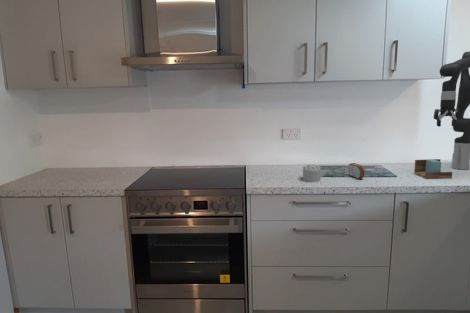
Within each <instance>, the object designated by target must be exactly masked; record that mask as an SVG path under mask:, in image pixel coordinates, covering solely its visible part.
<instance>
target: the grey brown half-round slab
mask: <svg viewBox="0 0 470 313" xmlns="http://www.w3.org/2000/svg"><path fill="white" fill-rule="evenodd" d="M348 174H349V175H350V176H351V177H352V178H355V179H357V180H361V179H364V178H365V169H364V167H363V166H362V165H361V164H358V163H357V162H356V163H355V162H352V163H349V164H348Z"/></svg>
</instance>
